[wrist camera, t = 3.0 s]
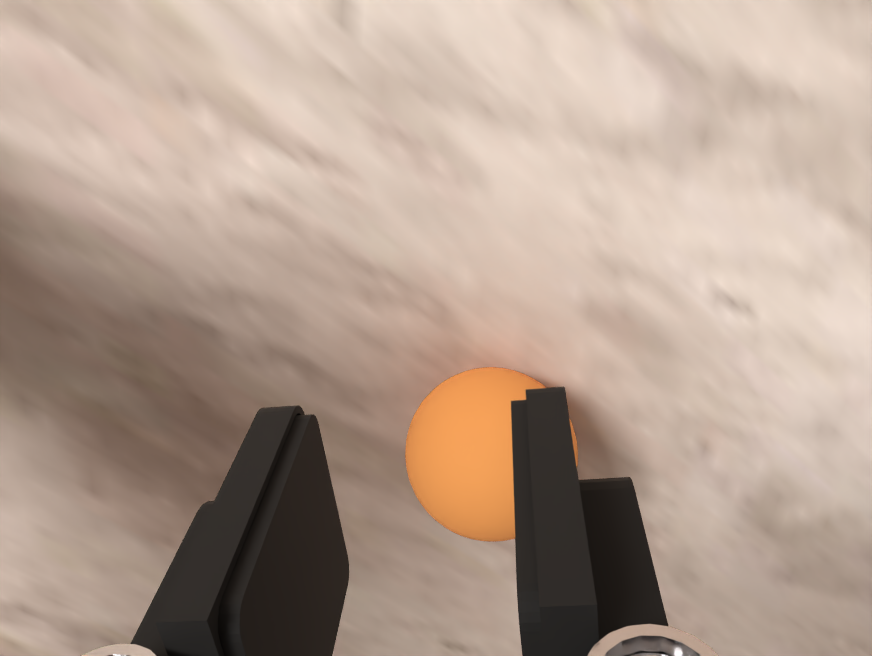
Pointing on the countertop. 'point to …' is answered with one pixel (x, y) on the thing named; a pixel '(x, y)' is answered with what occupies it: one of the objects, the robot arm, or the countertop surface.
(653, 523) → the countertop surface
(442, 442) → the ball
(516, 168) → the countertop surface
